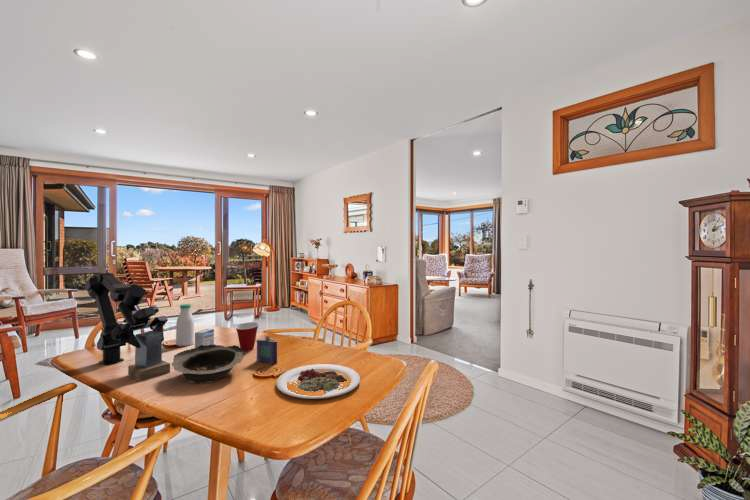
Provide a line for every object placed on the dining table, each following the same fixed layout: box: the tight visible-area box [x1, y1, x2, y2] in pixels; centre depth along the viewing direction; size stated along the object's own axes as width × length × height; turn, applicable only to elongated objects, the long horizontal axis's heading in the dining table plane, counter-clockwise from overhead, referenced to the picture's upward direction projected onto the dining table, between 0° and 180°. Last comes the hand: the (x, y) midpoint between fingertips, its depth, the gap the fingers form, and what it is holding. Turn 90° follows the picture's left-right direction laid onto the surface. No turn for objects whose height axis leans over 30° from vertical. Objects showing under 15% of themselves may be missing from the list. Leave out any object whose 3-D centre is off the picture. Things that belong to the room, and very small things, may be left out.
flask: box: [256, 334, 278, 365], centre depth 139 cm, size 10×3×12 cm, turn 71°
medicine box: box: [194, 328, 215, 348], centre depth 157 cm, size 8×4×9 cm, turn 168°
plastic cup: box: [234, 321, 260, 352], centre depth 156 cm, size 11×11×12 cm
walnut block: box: [127, 360, 171, 382], centre depth 125 cm, size 10×10×4 cm
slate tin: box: [134, 330, 163, 368], centre depth 125 cm, size 6×6×12 cm
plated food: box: [276, 363, 361, 400], centre depth 119 cm, size 30×30×3 cm
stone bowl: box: [170, 343, 244, 385], centre depth 124 cm, size 25×25×9 cm
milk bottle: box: [175, 303, 195, 347], centre depth 163 cm, size 8×8×20 cm
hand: (151, 344), depth 124 cm, fingers open, 9 cm apart
